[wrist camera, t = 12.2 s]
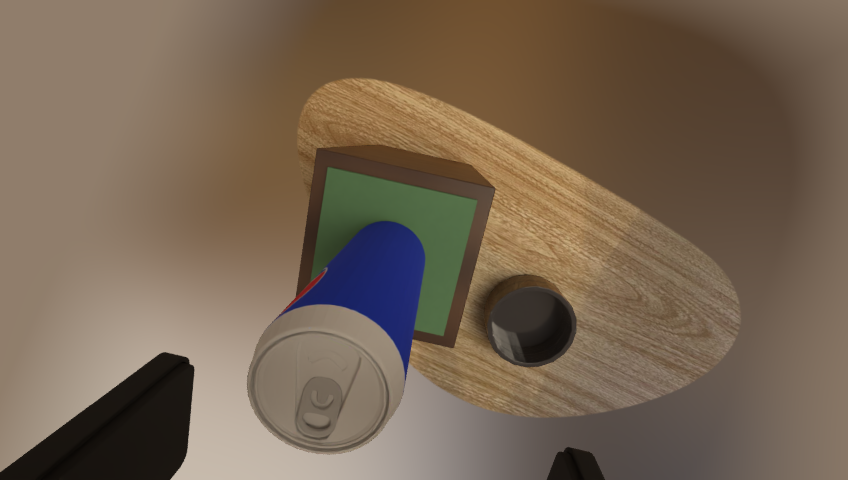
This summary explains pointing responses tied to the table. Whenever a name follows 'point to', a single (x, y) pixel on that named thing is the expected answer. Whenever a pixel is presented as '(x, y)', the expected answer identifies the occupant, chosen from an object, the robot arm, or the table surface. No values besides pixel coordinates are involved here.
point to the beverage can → (342, 345)
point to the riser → (412, 172)
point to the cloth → (413, 208)
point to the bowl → (529, 321)
